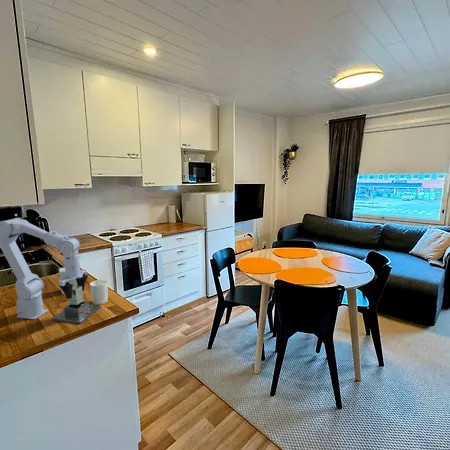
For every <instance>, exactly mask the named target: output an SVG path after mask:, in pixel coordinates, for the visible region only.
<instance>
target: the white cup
mask: <svg viewBox="0 0 450 450" xmlns="http://www.w3.org/2000/svg"><path fill="white" fill-rule="evenodd" d="M89 289H90V294H91V299H92V304H93V305H97V306H100V305H102V304H105V303H107V302H108V299H109V298H108V295H109V286H108V280H107V279H97V280H94V281H91V282H90V283H89Z"/></svg>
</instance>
